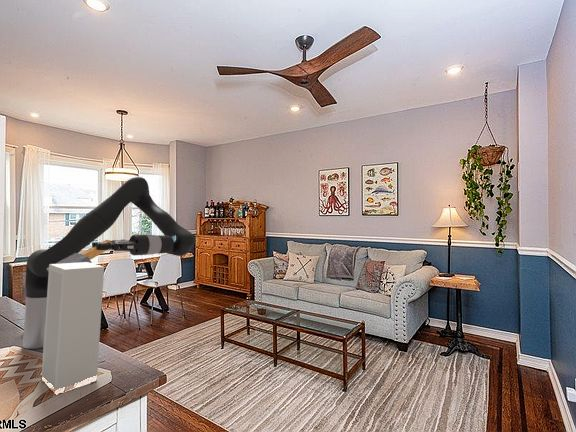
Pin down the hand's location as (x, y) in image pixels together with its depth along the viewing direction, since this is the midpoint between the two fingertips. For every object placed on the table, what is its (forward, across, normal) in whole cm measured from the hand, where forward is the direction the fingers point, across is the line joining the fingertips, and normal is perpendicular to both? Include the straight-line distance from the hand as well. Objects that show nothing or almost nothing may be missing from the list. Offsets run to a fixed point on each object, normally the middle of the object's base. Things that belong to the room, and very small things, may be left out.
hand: (94, 246), depth 103 cm
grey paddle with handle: (+3, 0, -5) cm, 5 cm away
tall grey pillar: (+10, -14, -36) cm, 40 cm away
